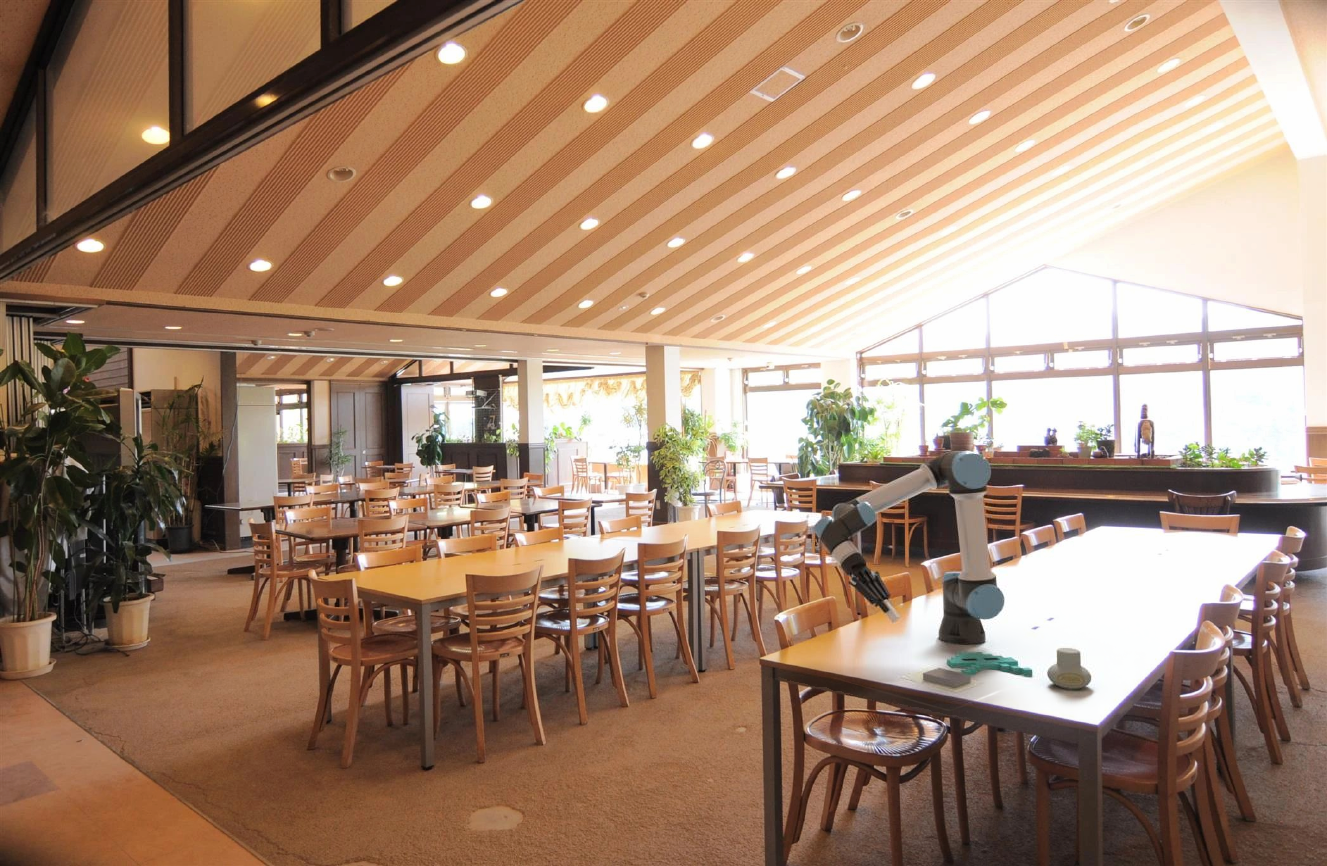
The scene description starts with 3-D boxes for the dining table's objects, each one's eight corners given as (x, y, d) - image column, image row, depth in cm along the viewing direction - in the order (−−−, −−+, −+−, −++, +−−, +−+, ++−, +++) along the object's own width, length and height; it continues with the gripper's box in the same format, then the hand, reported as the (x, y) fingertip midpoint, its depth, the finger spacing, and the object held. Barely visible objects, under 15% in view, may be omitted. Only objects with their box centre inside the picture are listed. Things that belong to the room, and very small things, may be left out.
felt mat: (901, 678, 237) (901, 677, 237) (927, 670, 245) (927, 668, 245) (956, 693, 223) (956, 692, 223) (983, 684, 231) (983, 682, 231)
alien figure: (1032, 677, 237) (1001, 658, 257) (1032, 669, 237) (1001, 651, 257) (964, 679, 237) (938, 660, 257) (964, 671, 237) (938, 653, 257)
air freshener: (1048, 688, 225) (1048, 652, 225) (1046, 680, 233) (1045, 645, 233) (1093, 692, 221) (1092, 655, 221) (1089, 683, 229) (1088, 648, 229)
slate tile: (922, 673, 234) (954, 680, 226) (939, 667, 239) (970, 675, 231) (923, 680, 234) (954, 688, 226) (939, 674, 239) (970, 682, 231)
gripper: (856, 563, 264) (902, 623, 251) (829, 569, 256) (876, 631, 243) (869, 548, 260) (916, 608, 247) (842, 554, 252) (890, 616, 239)
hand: (896, 619), depth 245 cm, fingers closed
